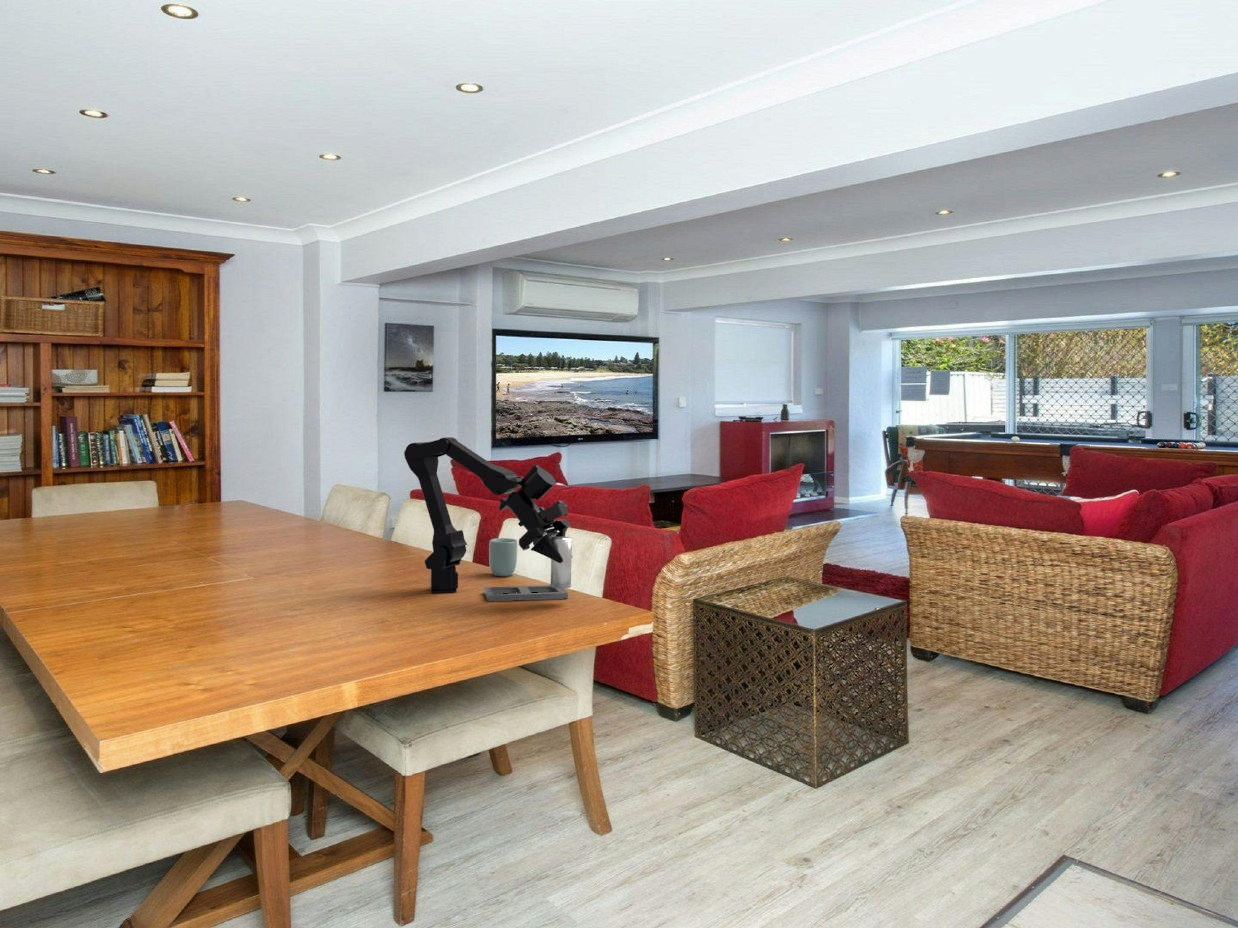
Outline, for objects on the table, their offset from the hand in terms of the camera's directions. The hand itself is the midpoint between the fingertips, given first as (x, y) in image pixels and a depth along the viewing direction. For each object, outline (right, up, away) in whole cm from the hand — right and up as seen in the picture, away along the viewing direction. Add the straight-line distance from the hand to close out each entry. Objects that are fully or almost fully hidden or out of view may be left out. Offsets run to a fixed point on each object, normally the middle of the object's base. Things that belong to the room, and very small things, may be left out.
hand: (566, 560), depth 219 cm
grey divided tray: (-11, -10, +10) cm, 18 cm away
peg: (-1, -7, +1) cm, 7 cm away
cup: (-20, -8, +35) cm, 42 cm away
